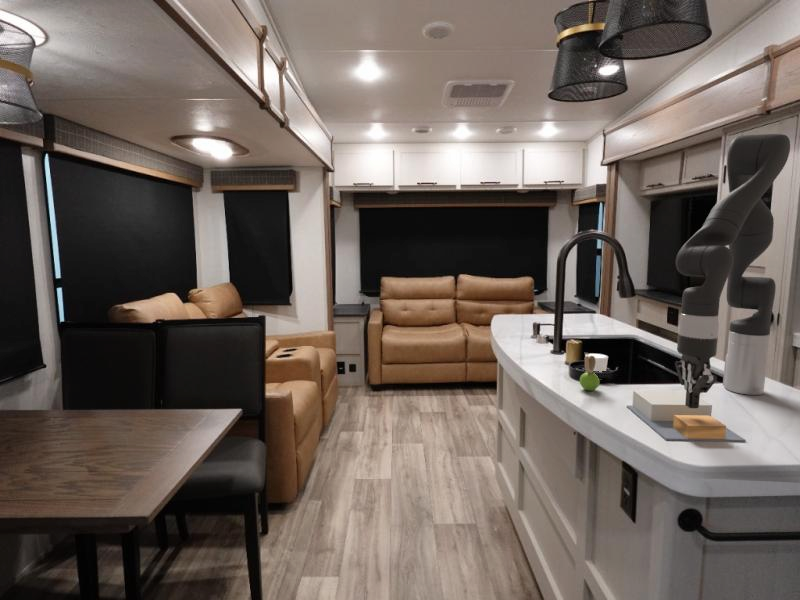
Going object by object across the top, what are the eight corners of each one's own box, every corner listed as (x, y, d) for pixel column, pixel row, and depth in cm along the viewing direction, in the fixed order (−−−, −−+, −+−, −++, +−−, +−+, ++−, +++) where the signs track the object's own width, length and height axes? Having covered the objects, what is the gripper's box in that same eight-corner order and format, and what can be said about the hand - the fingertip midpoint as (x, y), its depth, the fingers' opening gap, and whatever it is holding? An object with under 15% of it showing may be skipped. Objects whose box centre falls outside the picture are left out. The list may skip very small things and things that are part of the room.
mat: (626, 406, 120) (626, 405, 120) (693, 407, 119) (693, 406, 119) (665, 440, 100) (665, 438, 100) (745, 441, 99) (745, 440, 99)
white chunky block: (580, 373, 150) (581, 353, 149) (600, 373, 150) (601, 352, 149) (590, 380, 143) (591, 358, 142) (611, 379, 143) (612, 357, 142)
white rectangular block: (632, 407, 120) (633, 390, 119) (687, 407, 119) (688, 391, 118) (650, 422, 110) (651, 404, 109) (710, 423, 109) (712, 405, 108)
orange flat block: (688, 425, 99) (687, 438, 100) (726, 426, 99) (725, 439, 99) (673, 415, 105) (672, 427, 106) (709, 415, 105) (708, 427, 105)
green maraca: (574, 391, 133) (576, 351, 131) (583, 385, 137) (585, 347, 136) (593, 395, 129) (595, 354, 127) (601, 389, 134) (603, 350, 132)
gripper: (734, 340, 95) (727, 418, 98) (698, 328, 108) (692, 397, 111) (697, 340, 96) (691, 418, 98) (665, 328, 109) (660, 397, 111)
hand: (691, 407), depth 104 cm, fingers closed
